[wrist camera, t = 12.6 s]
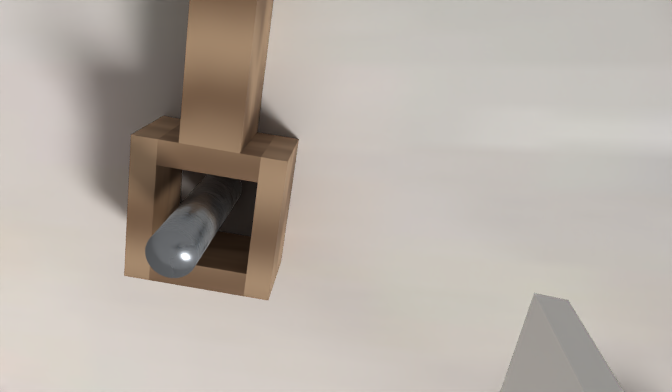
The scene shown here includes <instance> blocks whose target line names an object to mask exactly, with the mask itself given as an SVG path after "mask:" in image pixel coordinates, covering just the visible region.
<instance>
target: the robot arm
mask: <svg viewBox="0 0 672 392" xmlns="http://www.w3.org/2000/svg"><path fill="white" fill-rule="evenodd" d="M500 392H624V391H623V389H622V388H621V386H620V384H619V383H618V381H617V379H616V378H615V376H614V374H613V373H612V371H611V369H610V368H609V366H608V365H607V363H606V361H605V360H604V358H603V356H602V355H601V353H600V351H599V350H598V348H597V346H596V345H595V343H594V341H593V340H592V338H591V337H590V335H589V333H588V332H587V330H586V328H585V327H584V325H583V323H582V322H581V320H580V318H579V317H578V315H577V314H576V312H575V310H574V309H573V307H572V305H571V304H570V302H569V300H565V299H560V298H556V297H551V296H546V295H541V294H536V293H534V295H533V298H532V301H531V304H530V307H529V310H528V313H527V316H526V319H525V321H524V324H523V327H522V330H521V333H520V336H519V339H518V342H517V345H516V348H515V350H514V353H513V356H512V359H511V362H510V365H509V368H508V371H507V374H506V377H505V379H504V382H503V385H502V388H501V391H500Z"/></svg>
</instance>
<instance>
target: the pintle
mask: <svg viewBox="0 0 672 392" xmlns="http://www.w3.org/2000/svg"><path fill="white" fill-rule="evenodd" d="M241 193H242V184H241V181H240V179H234V178H229V177H223V176H217V175H211V174H207V175H206V177H205V178H204V179H203V180H202V181H201V182H200V183H199V184H198V185H197V186H196V188H195V189H194V190H193V191H192V192H191V193H190V194H189V195H188V196H187V198H186V199H185V200H184V201H183V202H182V203H181V204H180V205H179V206H178V208H177V209H176V210H175V211H174V212H173V213H172V214H171V215H170V216H169V217H168V219H167V220H166V221H165V222H164V223H163V224H162V225H161V226H160V227H159V229H158V230H157V231H156V232H155V233H154V234H153V235H152V236H151V237H150V239H149V240H148V242H147V244H146V247H145V256H146V259H147V262H148V263H149V265H150V266H151V268H152V269H153V270H154V271H155V272H157V273H158V274H160V275H162V276H164V277H168V278H180V277H183V276H186V275H187V274H189V273H190V272H191V271H192V270H193V269H194V267H195V266H196V264H197V263H198V261H199V259H200V258H201V256H202V255H203V253H204V252H205V250H206V248H207V247H208V245H209V244H210V242H211V241H212V239H213V238H214V236H215V234H216V233H217V231H218V230H219V228H220V227H221V225H222V224H223V222H224V220H225V219H226V217H227V216H228V214H229V213H230V211H231V210H232V208H233V206H234V205H235V203H236V202H237V200H238V199H239V197H240V195H241Z"/></svg>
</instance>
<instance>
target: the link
mask: <svg viewBox="0 0 672 392" xmlns="http://www.w3.org/2000/svg"><path fill="white" fill-rule="evenodd" d="M272 7H273V0H190V1H189V14H188V27H187V41H186V54H185V67H184V80H183V94H182V107H181V119H179V118H173V117H167V116H162V117H160V118H159V119H157V120H155V121H153V122H152V123H150V124H148V125H147V126H145V127H143V128H142V129H140V130H138V131H136V132H135V133H133V134H131V144H130V165H129V186H128V207H127V228H126V249H125V271H124V276H129V277H135V278H141V279H147V280H152V281H158V282H164V283H170V284H176V285H182V286H187V287H193V288H199V289H205V290H211V291H217V292H222V293H228V294H234V295H240V296H246V297H252V298H258V299H263V300H269V297H270V294H271V290H272V287H273V284H274V281H275V278H276V275H277V272H278V269H279V266H280V263H281V258H282V251H283V244H284V237H285V230H286V224H287V217H288V210H289V203H290V196H291V189H292V182H293V175H294V168H295V162H296V155H297V148H298V141H299V139H295V138H289V137H283V136H277V135H272V134H266V133H260V132H258V123H259V115H260V107H261V98H262V90H263V82H264V74H265V65H266V57H267V49H268V41H269V32H270V24H271V16H272ZM182 170H188V171H194V172H199V173H205V174H211V175H217V176H223V177H229V178H234V179H240V180H246V181H252V182H258V185H257V193H256V201H255V209H254V217H253V225H252V233H251V237H250V236H244V235H238V234H232V233H227V232H221V231H217V233H216V234H215V236H214V238H213V239H212V241H211V242H210V244H209V245H208V247H207V248H206V250H205V252H204V253H203V255H202V256H201V258H200V259H199V261H198V263H197V264H196V266H195V267H194V269H193V270H192V271H191V272H190V273H189V274H187V275H186V276H183V277H180V278H168V277H164V276H162V275H160V274H158V273H157V272H155V271H154V270H153V269H152V268H151V266H150V265H149V263H148V262H147V259H146V256H145V247H146V244H147V242H148V240H149V239H150V237H151V236H152V235H153V234H154V233H155V232H156V231H157V230H158V229H159V227H160V226H161V225H162V224H163V223H164V222H165V221H166V220H167V219H168V217H169V216H170V215H171V214H172V213H173V212H174V211H175V210H176V209H177V208H178V206H179V205H180V194H181V181H182Z"/></svg>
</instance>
